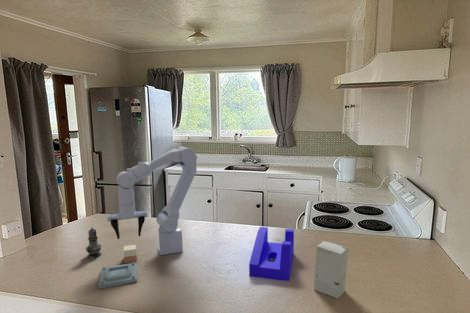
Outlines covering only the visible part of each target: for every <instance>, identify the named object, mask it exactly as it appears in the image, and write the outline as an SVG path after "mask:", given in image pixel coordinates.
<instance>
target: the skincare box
mask: <svg viewBox="0 0 470 313" xmlns="http://www.w3.org/2000/svg"><path fill="white" fill-rule="evenodd" d="M315 253H316V257H315V266H314V267H315V269H314V270H315V271H314V283H313V289H314V291H316V292H317V291H318V292H319V293H322V294H325V295H328V296H330V297H333V298H334V299H339V298H340V297H341V296H342V295H343V294H344V292H345V290H346V280H347V279H346V278H347V267H348V256H349V248H348V247H345V246H342V245H340V244H337V243H332V242H329V241H325V240H323V241H322V242H320V243H319V244H317V245H316V252H315Z"/></svg>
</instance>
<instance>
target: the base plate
mask: <svg viewBox="0 0 470 313" xmlns="http://www.w3.org/2000/svg"><path fill="white" fill-rule="evenodd" d="M137 270H138V269H137V262H136V261H134V262H129V263H124V264H119V265H113V266H108V267H107V266H103V267H101V270H100V275H99V280H98V285H97V286H98V289H105V288H110V287H116V286H120V285H121V286H122V285H127V284H133V283H138V276H137V275H138V273H137Z"/></svg>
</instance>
